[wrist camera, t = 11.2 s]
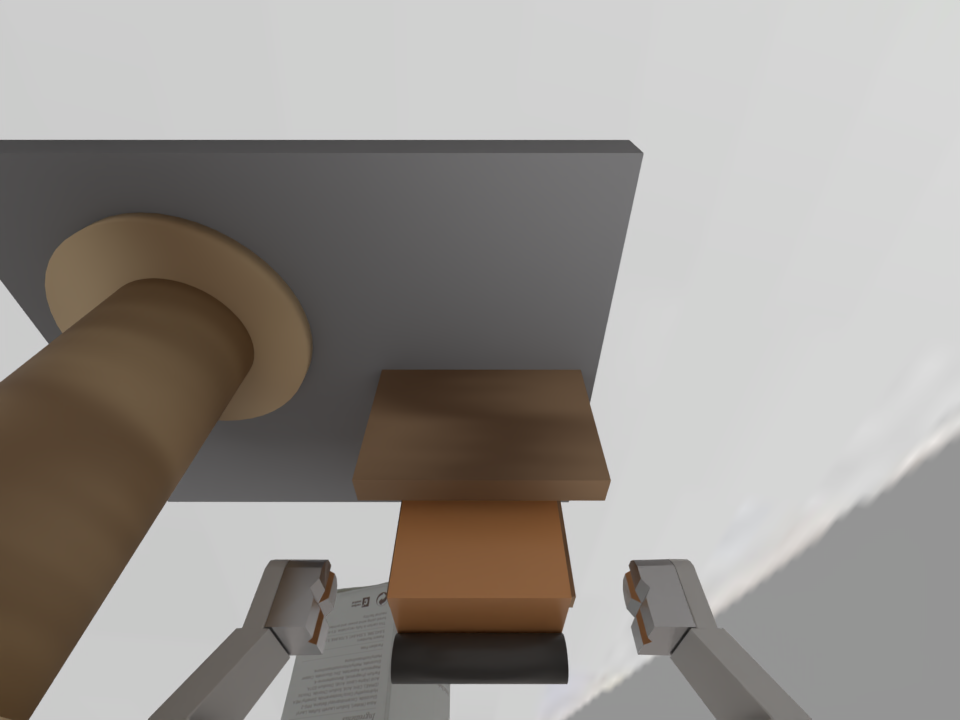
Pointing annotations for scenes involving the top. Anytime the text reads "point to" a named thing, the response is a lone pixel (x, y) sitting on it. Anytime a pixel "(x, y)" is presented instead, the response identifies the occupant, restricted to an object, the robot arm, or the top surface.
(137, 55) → the top surface
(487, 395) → the notch
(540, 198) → the board
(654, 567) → the robot arm
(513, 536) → the orange block
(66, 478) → the bobbin
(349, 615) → the skincare box
